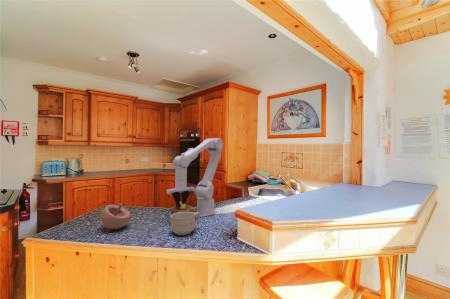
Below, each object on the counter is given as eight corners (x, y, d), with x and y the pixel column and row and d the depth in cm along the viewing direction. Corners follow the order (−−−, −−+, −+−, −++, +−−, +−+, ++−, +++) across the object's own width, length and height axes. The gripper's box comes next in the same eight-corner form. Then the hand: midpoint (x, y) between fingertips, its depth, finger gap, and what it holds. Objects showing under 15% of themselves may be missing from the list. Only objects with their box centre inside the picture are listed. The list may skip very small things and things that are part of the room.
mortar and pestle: (123, 233, 88) (124, 206, 88) (94, 234, 87) (95, 207, 88) (134, 223, 100) (134, 200, 100) (108, 224, 99) (109, 200, 100)
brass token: (180, 211, 107) (180, 201, 107) (185, 213, 103) (185, 203, 103) (176, 212, 105) (176, 202, 105) (181, 214, 101) (181, 204, 101)
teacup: (173, 239, 83) (173, 219, 83) (167, 230, 92) (167, 212, 92) (205, 233, 89) (206, 215, 89) (197, 225, 99) (197, 208, 99)
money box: (186, 216, 112) (186, 204, 112) (196, 221, 104) (196, 208, 104) (170, 219, 106) (170, 207, 106) (179, 225, 98) (180, 211, 98)
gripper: (189, 177, 112) (189, 202, 112) (164, 179, 103) (163, 207, 103) (196, 179, 107) (196, 205, 106) (170, 181, 97) (169, 210, 97)
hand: (180, 206), depth 104 cm, fingers open, 3 cm apart
